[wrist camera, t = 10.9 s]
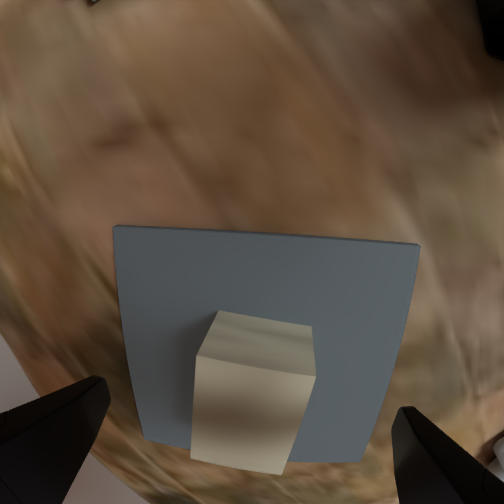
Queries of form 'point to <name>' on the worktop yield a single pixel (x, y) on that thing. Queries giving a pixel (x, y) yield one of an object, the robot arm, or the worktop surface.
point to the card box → (251, 391)
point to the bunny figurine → (498, 460)
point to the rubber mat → (268, 307)
